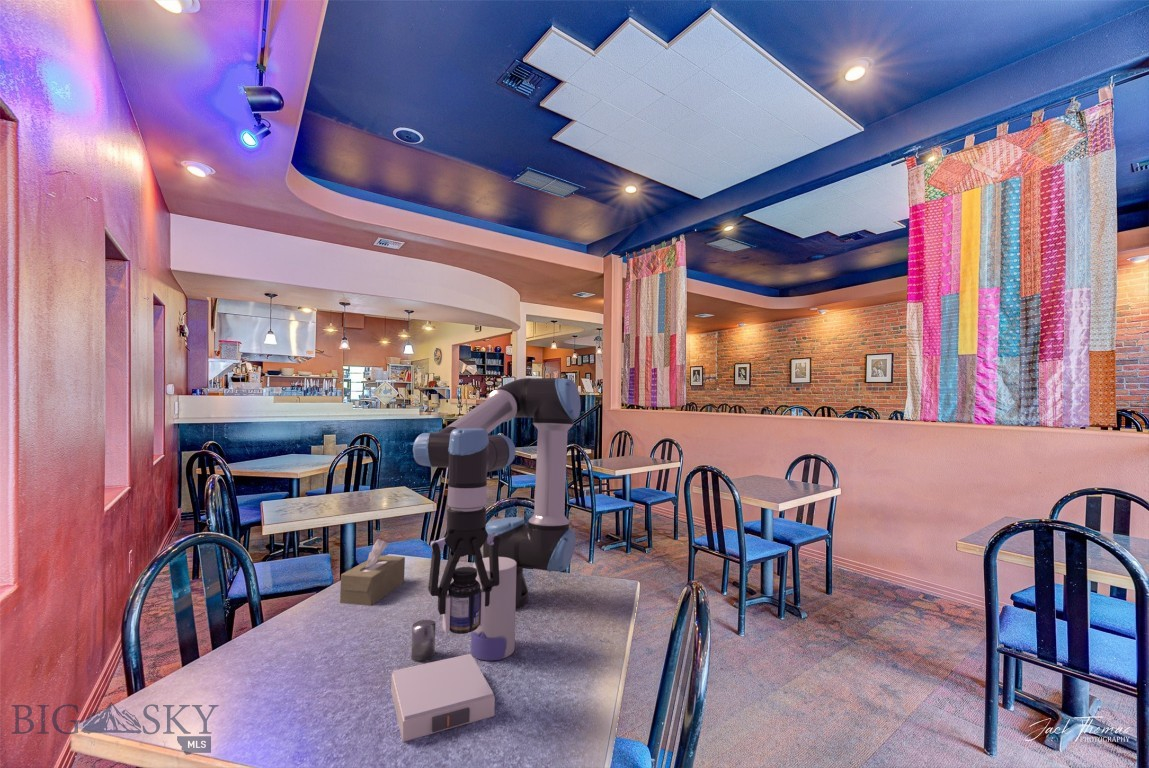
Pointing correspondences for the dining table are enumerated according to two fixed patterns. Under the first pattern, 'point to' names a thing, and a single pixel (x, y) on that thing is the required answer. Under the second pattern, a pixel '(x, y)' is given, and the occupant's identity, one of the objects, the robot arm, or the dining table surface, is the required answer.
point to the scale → (440, 696)
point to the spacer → (423, 640)
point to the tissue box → (372, 577)
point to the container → (497, 615)
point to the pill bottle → (464, 601)
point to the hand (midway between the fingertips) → (463, 626)
